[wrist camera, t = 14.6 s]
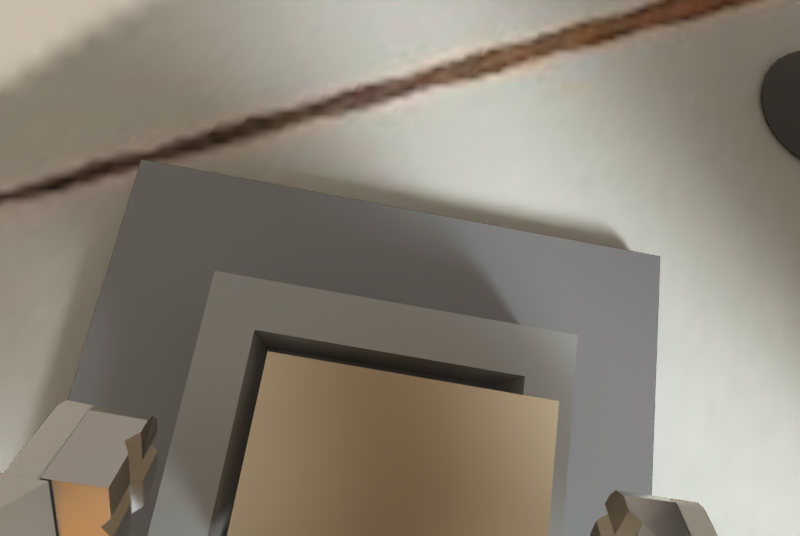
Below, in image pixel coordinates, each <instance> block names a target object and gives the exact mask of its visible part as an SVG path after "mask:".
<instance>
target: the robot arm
mask: <svg viewBox="0 0 800 536" xmlns="http://www.w3.org/2000/svg"><path fill="white" fill-rule="evenodd" d="M157 432H158V431H157V418H156V417H154V416H152V415H147V414H141V413H136V412H131V411H125V410H120V409H115V408H109V407H104V406H99V405H91V404H85V403H80V402H75V401H69V400H65V401H64V402H62V403H60V404H59V405H57V406H56V407H55V409H54V410H53V411H52V412H51V414H50V415H49V416H48V418H47V419H46V420H45V421H44V423H43V424H42V425H41V426H40V428H39V429H38V430H37V431H36V433H35V434H34V435H33V437H32V438H31V439H30V440H29V442H28V443H27V444H26V445H25V447H24V448H23V449H22V450H21V452H20V453H19V454H18V456H17V457H16V458H15V459H14V461H13V462H12V463H11V464H10V466H9V467H8V468H7V469H6V471H5V472H4V473H3V474H2V473H0V536H129V534H130V532H131V530H132V513H134V512H135V511H137V510H138V509H140V508H141V507H143V506H144V504H145V502H146V500H147V498H148V495H149V493H150V491H151V488H152V485H153V482H154V479H155V475H156V470H157V463H158V450H157V449H156V448H155V447H154V446H153V444H152V442H153V440H154V438H155V436H156V434H157ZM605 506H606V509H607V512H608V514H607V515H605V516H603V517H601V518H600V519H598V520H596V522H595V524H594V526H593V529H592V531H591V533H590V536H718V535H717V533H716V531H715V529H714V527H713V525H712V523H711V521H710V519H709V517H708V515H707V513H706V511H705V509H704V508H703V507H702V506H701V505H700V504H699V503H696V502H690V501H684V500H677V499H668V498H665V497H658V496H651V495H645V494H638V493H632V492H625V491H618V490H616V491H614V492H613V493H611V494H610V495H609V497H608V499H607V501H606V503H605Z"/></svg>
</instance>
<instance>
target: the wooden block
mask: <svg viewBox="0 0 800 536" xmlns="http://www.w3.org/2000/svg"><path fill="white" fill-rule="evenodd" d="M558 410H559V401H555V400H549V399H544V398H538V397H532V396H526V395H520V394H514V393H509V392H503V391H497V390H491V389H485V388H479V387H474V386H468V385H462V384H456V383H450V382H444V381H439V380H433V379H427V378H421V377H415V376H409V375H404V374H398V373H392V372H386V371H380V370H374V369H369V368H363V367H357V366H351V365H345V364H339V363H334V362H328V361H322V360H316V359H310V358H304V357H299V356H293V355H287V354H281V353H275V352H269V351H267V356H266V361H265V365H264V370H263V374H262V379H261V383H260V388H259V392H258V397H257V401H256V406H255V410H254V415H253V420H252V424H251V429H250V433H249V438H248V442H247V447H246V451H245V456H244V460H243V465H242V469H241V474H240V479H239V483H238V488H237V492H236V497H235V501H234V506H233V510H232V515H231V519H230V524H229V528H228V533H227V536H548V533H549V520H550V508H551V496H552V483H553V471H554V459H555V446H556V434H557V422H558Z"/></svg>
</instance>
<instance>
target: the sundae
mask: <svg viewBox="0 0 800 536" xmlns="http://www.w3.org/2000/svg"><path fill="white" fill-rule="evenodd" d="M761 98H762V104H763V110H764V113H765V116H766V120H767V122H768V124H769V126H770V127H771V129H772V131H773V132H774V134H775V135H776V136H777V138H778V139H779V141H780V142H781V143H782V144H783V145H784V146H785V147H786V148H788V149H789V150H790V151H791V152H792V153H794V154H795V155H796V156H798V157H799V158H800V51H797V52H794V53H791V54H788V55H786V56H784V57H782V58H780V59H778V60H777V61H776V62H775V63H774V64H773V65H772V66H771V68H770V69H769V71H768V72H767V74H766V75H765V78H764V82H763V86H762V95H761Z"/></svg>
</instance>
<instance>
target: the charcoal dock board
mask: <svg viewBox="0 0 800 536" xmlns="http://www.w3.org/2000/svg"><path fill="white" fill-rule="evenodd" d="M659 276H660V256H655V255H650V254H644V253H639V252H634V251H628V250H623V249H618V248H612V247H607V246H602V245H596V244H591V243H586V242H580V241H575V240H570V239H564V238H559V237H553V236H548V235H543V234H537V233H532V232H527V231H521V230H516V229H511V228H505V227H500V226H495V225H489V224H484V223H479V222H473V221H468V220H462V219H457V218H452V217H446V216H441V215H436V214H430V213H425V212H420V211H414V210H409V209H404V208H398V207H393V206H388V205H382V204H377V203H371V202H366V201H361V200H355V199H350V198H345V197H339V196H334V195H329V194H323V193H318V192H313V191H307V190H302V189H297V188H291V187H286V186H281V185H275V184H270V183H264V182H259V181H254V180H248V179H243V178H238V177H232V176H227V175H222V174H216V173H211V172H206V171H200V170H195V169H190V168H184V167H179V166H173V165H168V164H163V163H157V162H152V161H147V160H141V162H140V165H139V169H138V172H137V175H136V179H135V182H134V185H133V188H132V192H131V195H130V198H129V201H128V205H127V208H126V211H125V215H124V218H123V221H122V224H121V228H120V231H119V234H118V237H117V241H116V244H115V247H114V250H113V254H112V257H111V260H110V264H109V267H108V270H107V273H106V277H105V280H104V283H103V286H102V290H101V293H100V296H99V300H98V303H97V306H96V309H95V313H94V316H93V319H92V322H91V326H90V329H89V332H88V336H87V339H86V342H85V345H84V349H83V352H82V355H81V358H80V362H79V365H78V368H77V372H76V375H75V378H74V381H73V385H72V388H71V391H70V394H69V398H68V400H69V401H75V402H80V403H85V404H91V405H99V406H104V407H109V408H115V409H120V410H125V411H131V412H136V413H141V414H147V415H152V416H154V417H156V418H157V431H158V432H157V434H156V436H155V438H154V440H153V442H152V444H153V446H154V447H155V448H156V449H157V450H158V463H157V470H156V475H155V479H154V482H153V485H152V488H151V491H150V493H149V495H148V498H147V500H146V502H145V504H144V506H143V507H141V508H140V509H138V510H137V511H135V512H134V513H132V530H131V532H130V534H129V536H227V533H228V528H229V524H230V519H231V515H232V510H233V506H234V501H235V497H236V492H237V488H238V483H239V479H240V474H241V469H242V465H243V460H244V456H245V451H246V447H247V442H248V438H249V433H250V429H251V424H252V420H253V415H254V410H255V406H256V401H257V397H258V392H259V388H260V383H261V379H262V374H263V370H264V365H265V361H266V356H267V351H269V352H275V353H281V354H287V355H293V356H299V357H304V358H310V359H316V360H322V361H328V362H334V363H339V364H345V365H351V366H357V367H363V368H369V369H374V370H380V371H386V372H392V373H398V374H404V375H409V376H415V377H421V378H427V379H433V380H439V381H444V382H450V383H456V384H462V385H468V386H474V387H479V388H485V389H491V390H497V391H503V392H509V393H514V394H520V395H526V396H532V397H538V398H544V399H549V400H555V401H559V410H558V422H557V434H556V446H555V459H554V471H553V483H552V496H551V508H550V520H549V533H548V536H590V533H591V531H592V529H593V526H594V524H595V522H596V520H598V519H600V518H601V517H603V516H605V515H607V514H608V512H607V509H606V506H605V503H606V501H607V499H608V497H609V495H610V494H611V493H613V492H614V491H616V490H618V491H625V492H632V493H638V494H645V495H651V496H652V470H653V443H654V415H655V387H656V359H657V332H658V304H659Z"/></svg>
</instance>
